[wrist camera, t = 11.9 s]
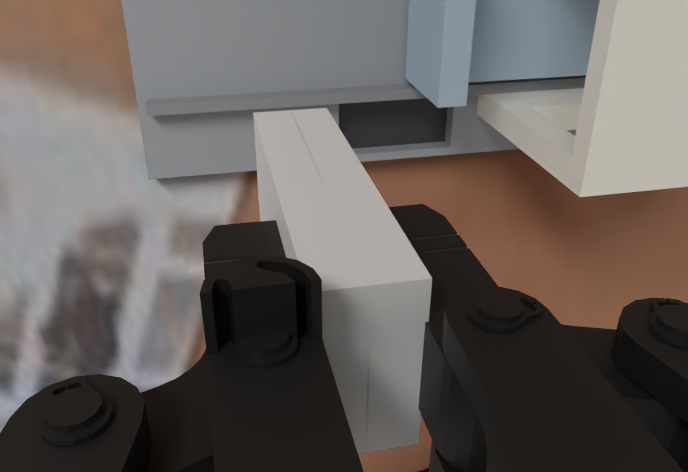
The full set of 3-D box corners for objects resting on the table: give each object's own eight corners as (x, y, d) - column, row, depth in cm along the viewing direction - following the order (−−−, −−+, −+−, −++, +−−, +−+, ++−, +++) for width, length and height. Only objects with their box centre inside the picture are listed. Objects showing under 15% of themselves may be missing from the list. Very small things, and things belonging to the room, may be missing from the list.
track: (149, 171, 38) (136, 295, 27) (93, -198, 30) (40, -244, 18) (779, 120, 46) (972, 200, 35) (879, -181, 38) (1179, -205, 26)
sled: (405, 78, 37) (437, 107, 33) (412, -78, 34) (450, -70, 29) (786, 56, 42) (863, 79, 37) (831, -83, 38) (922, -77, 34)
